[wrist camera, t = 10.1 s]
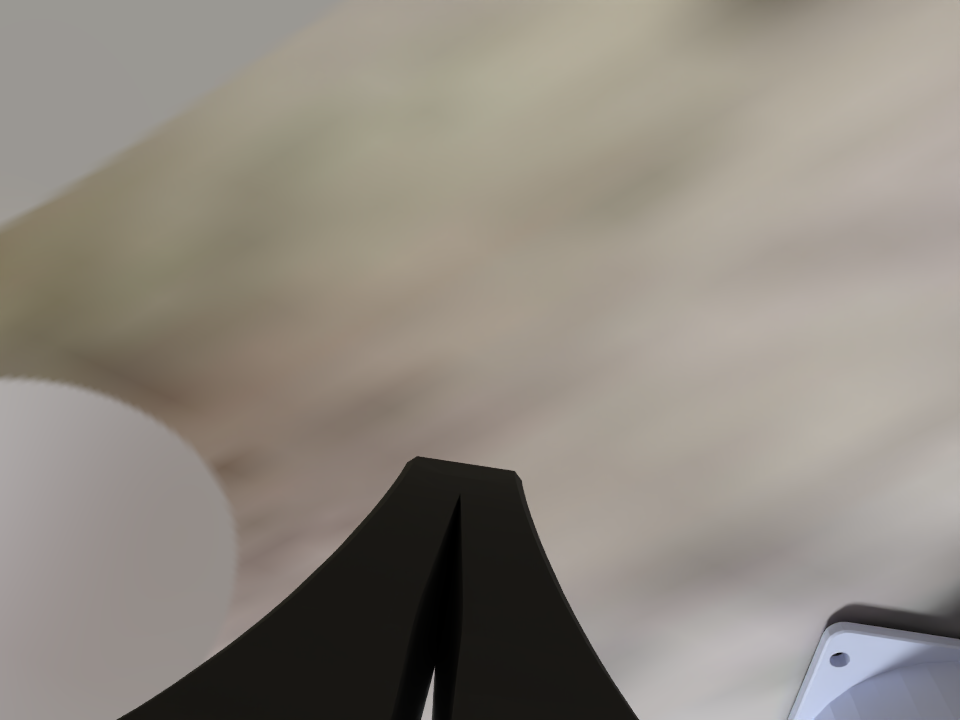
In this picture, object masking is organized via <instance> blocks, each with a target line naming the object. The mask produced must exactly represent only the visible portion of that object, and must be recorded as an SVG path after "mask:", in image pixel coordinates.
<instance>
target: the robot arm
mask: <svg viewBox="0 0 960 720" xmlns="http://www.w3.org/2000/svg"><path fill="white" fill-rule="evenodd" d="M839 652H843V653H842V654H841V655H838V656H832V655H833V654H836V653H839ZM434 668H435V676H434V693H433V711H432V720H639V719H638V717H637V716H636V715H635V713H634V712H633V710H632V709H631V707H630V706H629V704H628V703H627V701H626V700H625V698H624V697H623V695H622V694H621V692H620V691H619V689H618V688H617V686H616V685H615V683H614V682H613V680H612V679H611V677H610V675H609V674H608V672H607V671H606V669H605V667H604V666H603V664H602V662H601V661H600V659H599V657H598V656H597V654H596V652H595V651H594V649H593V647H592V646H591V644H590V642H589V640H588V638H587V636H586V635H585V633H584V631H583V629H582V627H581V626H580V624H579V622H578V620H577V618H576V616H575V615H574V613H573V611H572V609H571V607H570V605H569V603H568V601H567V599H566V597H565V595H564V593H563V591H562V589H561V586H560V584H559V582H558V580H557V578H556V575H555V573H554V571H553V569H552V567H551V565H550V562H549V560H548V558H547V556H546V553H545V551H544V549H543V546H542V544H541V541H540V539H539V536H538V533H537V531H536V528H535V525H534V523H533V520H532V517H531V514H530V511H529V508H528V505H527V501H526V498H525V494H524V490H523V486H522V480H521V479H520V478H519V476H518V475H517V474H516V472H515V471H511V470H504V469H497V468H491V467H484V466H478V465H471V464H465V463H458V462H451V461H445V460H438V459H432V458H425V457H419V456H417V457H415V458H414V459H412V460H411V461H409V462H407V464H406V465H405V467H404V469H403V470H402V472H401V474H400V475H399V476H398V478H397V479H396V481H395V482H394V484H393V485H392V486H391V488H390V489H389V490H388V491H387V493H386V494H385V495H384V497H383V498H382V499H381V500H380V502H379V503H378V504H377V505H376V506H375V508H374V509H373V510H372V511H371V513H370V514H369V515H368V516H367V517H366V518H365V519H364V520H363V521H362V523H361V524H360V525H359V526H358V527H357V528H356V529H355V530H354V531H353V533H352V534H351V535H350V536H349V537H348V538H347V539H346V540H345V541H344V542H343V544H342V545H341V546H340V547H339V548H338V549H337V550H336V551H335V552H334V553H333V554H332V555H331V556H330V557H329V558H328V559H327V560H326V561H325V562H324V563H323V564H322V565H321V566H320V567H319V568H318V569H316V570H315V571H314V572H313V573H312V574H311V575H310V576H309V577H308V578H307V579H306V580H305V581H304V582H303V583H302V584H301V585H300V586H299V587H298V588H297V589H296V590H295V591H293V592H292V593H291V594H290V595H289V596H288V597H287V598H286V599H284V600H283V601H282V602H281V603H280V604H279V605H278V606H276V607H275V608H274V609H273V610H272V611H271V612H269V613H268V614H267V615H266V616H265V617H263V618H262V619H261V620H260V621H259V622H257V623H256V624H255V625H254V626H252V627H251V628H250V629H248V630H247V631H246V632H245V633H243V634H242V635H241V636H240V637H238V638H237V639H236V640H235V641H233V642H232V643H231V644H229V645H228V646H227V647H225V648H224V649H223V650H221V651H220V652H218V653H217V654H216V655H214V656H213V657H211V658H210V659H209V660H207V661H206V662H204V663H203V664H202V665H200V666H199V667H197V668H196V669H194V670H193V671H192V672H190V673H189V674H187V675H186V676H185V677H183V678H182V679H180V680H179V681H178V682H176V683H175V684H173V685H172V686H170V687H169V688H167V689H166V690H164V691H163V692H161V693H160V694H158V695H156V696H155V697H153V698H152V699H150V700H149V701H147V702H146V703H144V704H142V705H141V706H139V707H138V708H136V709H134V710H133V711H131V712H129V713H127V714H126V715H124V716H122V717H121V718H119V719H117V720H421V717H422V714H423V710H424V706H425V702H426V698H427V695H428V691H429V687H430V683H431V679H432V676H433V672H434ZM788 720H960V639H955V638H949V637H942V636H936V635H929V634H923V633H916V632H910V631H903V630H897V629H890V628H884V627H877V626H870V625H864V624H857V623H851V622H838V623H835V624H832V625H831V626H829V627H828V628H826V630H825V631H824V633H823V635H822V637H821V640H820V642H819V644H818V647H817V649H816V652H815V654H814V657H813V659H812V662H811V664H810V666H809V669H808V671H807V674H806V676H805V679H804V681H803V683H802V686H801V688H800V691H799V693H798V696H797V698H796V701H795V703H794V705H793V708H792V710H791V713H790V715H789V718H788Z"/></svg>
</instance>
